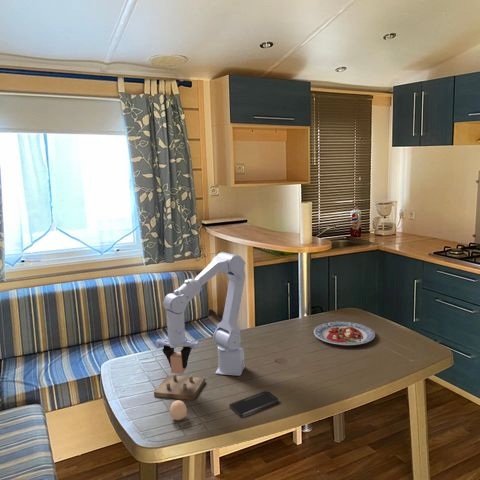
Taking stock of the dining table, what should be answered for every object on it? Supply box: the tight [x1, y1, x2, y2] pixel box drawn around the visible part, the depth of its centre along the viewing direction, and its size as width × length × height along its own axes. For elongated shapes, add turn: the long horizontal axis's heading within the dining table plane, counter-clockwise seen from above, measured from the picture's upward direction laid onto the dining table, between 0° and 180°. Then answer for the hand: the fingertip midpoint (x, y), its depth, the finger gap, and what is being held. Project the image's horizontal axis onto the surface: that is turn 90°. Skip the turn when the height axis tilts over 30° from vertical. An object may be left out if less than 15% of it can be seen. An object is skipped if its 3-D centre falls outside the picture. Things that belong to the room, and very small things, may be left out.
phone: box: [229, 390, 280, 418], centre depth 138 cm, size 8×1×15 cm
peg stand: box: [153, 373, 206, 401], centre depth 149 cm, size 14×12×4 cm
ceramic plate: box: [313, 321, 376, 346], centre depth 188 cm, size 26×26×3 cm
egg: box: [169, 399, 188, 421], centre depth 131 cm, size 5×5×6 cm
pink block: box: [170, 350, 188, 375], centre depth 148 cm, size 4×4×6 cm
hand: (178, 366), depth 148 cm, fingers closed on pink block, 4 cm apart
